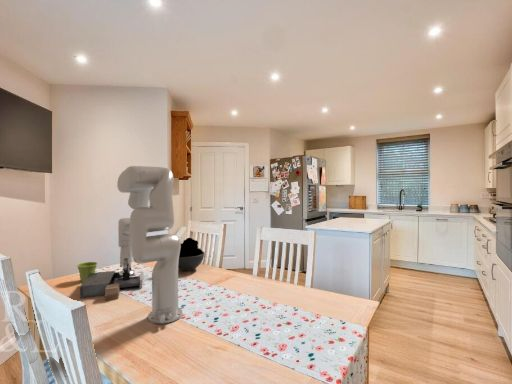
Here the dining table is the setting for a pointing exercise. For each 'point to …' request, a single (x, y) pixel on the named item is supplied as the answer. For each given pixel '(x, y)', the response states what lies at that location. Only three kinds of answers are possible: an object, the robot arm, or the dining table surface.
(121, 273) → the disc
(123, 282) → the tray
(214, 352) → the dining table surface
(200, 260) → the bowl of black rocks
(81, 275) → the plant pot
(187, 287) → the dining table surface
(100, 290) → the player
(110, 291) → the block
